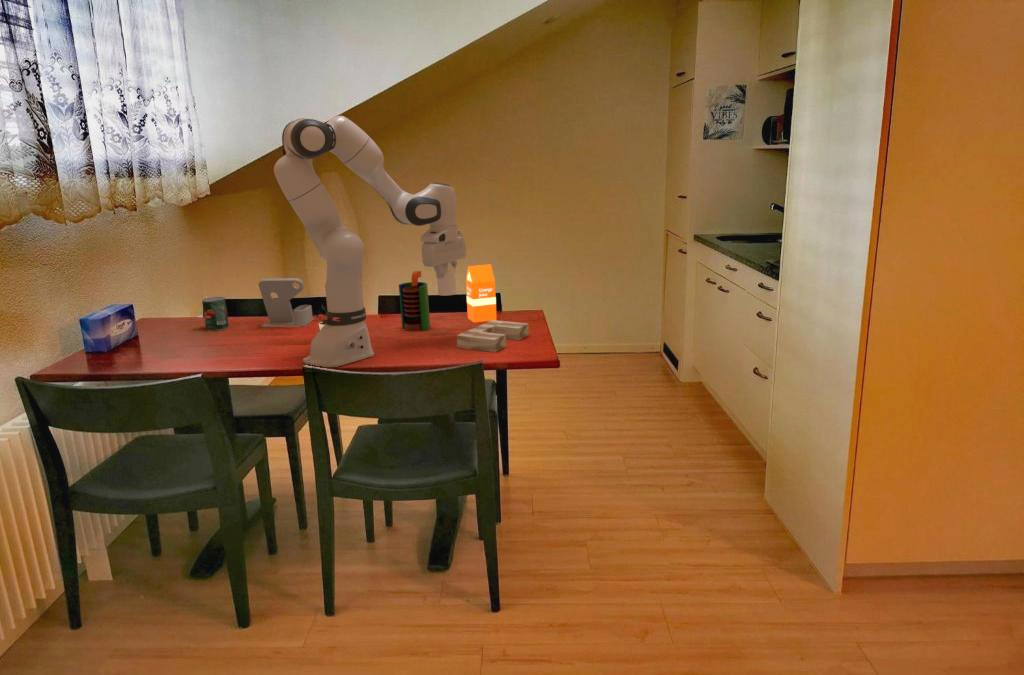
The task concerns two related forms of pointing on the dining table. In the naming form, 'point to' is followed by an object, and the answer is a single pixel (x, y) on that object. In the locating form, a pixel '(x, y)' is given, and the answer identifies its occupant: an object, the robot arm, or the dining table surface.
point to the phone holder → (284, 302)
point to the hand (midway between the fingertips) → (446, 276)
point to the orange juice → (481, 293)
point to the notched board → (492, 335)
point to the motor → (414, 304)
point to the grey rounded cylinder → (447, 280)
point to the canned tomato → (215, 313)
